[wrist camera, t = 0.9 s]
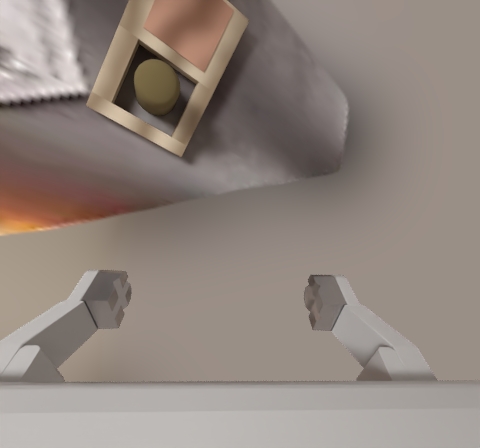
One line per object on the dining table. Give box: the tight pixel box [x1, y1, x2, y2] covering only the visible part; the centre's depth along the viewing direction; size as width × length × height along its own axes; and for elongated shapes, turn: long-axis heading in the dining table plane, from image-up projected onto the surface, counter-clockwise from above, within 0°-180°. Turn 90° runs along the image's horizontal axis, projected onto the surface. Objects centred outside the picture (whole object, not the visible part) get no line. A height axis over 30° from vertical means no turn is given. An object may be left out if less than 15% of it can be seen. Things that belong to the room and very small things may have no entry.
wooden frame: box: [86, 0, 249, 157], centre depth 35 cm, size 14×22×3 cm, turn 149°
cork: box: [134, 59, 180, 115], centre depth 32 cm, size 6×6×11 cm
